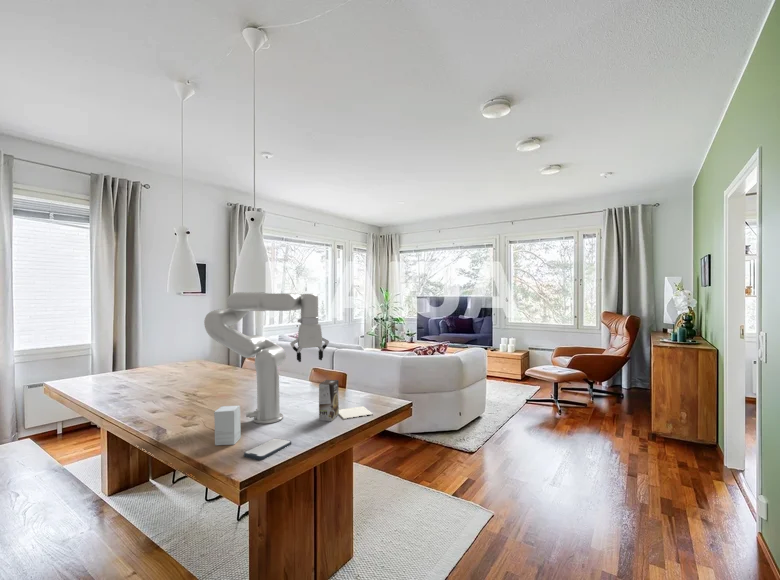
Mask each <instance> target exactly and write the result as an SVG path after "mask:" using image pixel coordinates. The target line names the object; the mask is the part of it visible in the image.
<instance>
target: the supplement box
mask: <svg viewBox="0 0 780 580" xmlns="http://www.w3.org/2000/svg"><path fill="white" fill-rule="evenodd" d="M213 414H214V417H213V418H214V446H228V445H229V446H231V445H233V446H234V445H236V443H238V441H239V440H240V439H241V438H242V434H241V433H242V432H241V430H242V429H241V427H242V426H241V405H221V406H220V407H218V409H216V410H215V411H214V412H213Z"/></svg>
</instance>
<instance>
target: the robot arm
mask: <svg viewBox="0 0 780 580" xmlns="http://www.w3.org/2000/svg"><path fill="white" fill-rule="evenodd" d="M226 303H227V306H228V307H227V308H225V309H223V308H222V309H220V308H219V309H214V310H210V311H209V312H208V313H207V314H206V315H205V318H204V321H203V322H204V324H203V325H204V329H205V331H206V333H207V334H208V335H209V337H210V338H211V339H213V340H214V341H215V342H218V343H219V344H221V345H223V346H225V347H226V348H228V349H229V350H231V351H232V352H234V353H236V354H237V355H239V356H241V357H243V358H246V359H250V358H255V359H254V367H255V372H256V402H257V403H256V409H255V410H253V411H252V412H250V411H249V412H246V413H245V416H246V417H245V418H250V419H253V423H256V424H260V425H263V424H265V425H266V424H273V423H277V422H280V421H281V420H283V418H284V414H283V413H281V412H280V411H281V409H280V375H279V370H278V367H279V366H280V365H282V364H283V363H284V362H285V361H286V359H287V353H286V350H285V349H284V348H283V347H282V346H281V345H279V344H277V343H275V342H274V341H272V340H270V339H268V338H267V337H264V336H262V335H259V334H253V335H248V334H244V333H243V332H241V331H239V330H237V329H236V328H235V329H234V328H232V327H233V326H235V325H237V323H239V322H240V321H241V320H242V319H244V317H245V316H247V314H248V313H250V312H267V311H269V312H279V311H281V312H289V311H290V312H291V311H298V310H300V318H298V319H297V323H300V324H299V327H298V335H297V338H296V339H294V340H292V341H291V342H290V343H289V345H290V346H291V348H292V350H294V351H295V352H296V361H298V363H301V362H302V352H301V351H302V349H311V348H313V349H314V348H318V360H320V361H322V360H323V358H324V350H325V349H326V348H327V347H328V344H329V343H330V341H329V340H328V339H326V338H325V337H323V333H322V327H321V324H320V323H319V295H318V294H316V293H303V294H301V293H294V292H293V293H290V292H287V293H286V292H285V293H279V292H278V293H269V292H261V291H258V292H257V291H255V292H252V291H249V292H248V291H245V292H244V291H238V292H233V293H231V294H229V296H228V297H227V299H226ZM323 342H324V343H323ZM296 344H297V346H298V347H296Z"/></svg>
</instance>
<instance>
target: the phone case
mask: <svg viewBox="0 0 780 580" xmlns="http://www.w3.org/2000/svg"><path fill="white" fill-rule="evenodd" d="M291 445H292V441H291V440H288V439H282V438H275V437H274V438H271V439H270V440H268V441H266V442H263V443H261V444H258V445H257V446H255V447H253V448H251V449H249V450H246V451H244V452H243V457H244V458H247V459H252V460H256V461H264V460H266V459H267V457H268V458H269V457H271V456H273V455H274V454H276V453H279V452H280V451H282V450H284V449H286V448H287V446H288V447H290V446H291ZM285 447H286V448H285ZM278 451H279V452H278Z"/></svg>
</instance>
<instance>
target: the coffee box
mask: <svg viewBox="0 0 780 580" xmlns="http://www.w3.org/2000/svg"><path fill="white" fill-rule="evenodd" d="M339 394H340V392H339V379H326V380H324V381H321V382H320V383H318V421H325V422H333V421H334V420H335V419H337V417H338V416H340V415H339V410H340V407H339V406H340V404H339V401H340V400H339V399H340V396H339Z"/></svg>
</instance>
